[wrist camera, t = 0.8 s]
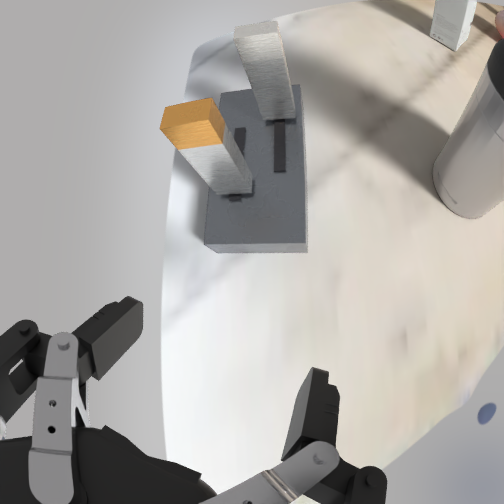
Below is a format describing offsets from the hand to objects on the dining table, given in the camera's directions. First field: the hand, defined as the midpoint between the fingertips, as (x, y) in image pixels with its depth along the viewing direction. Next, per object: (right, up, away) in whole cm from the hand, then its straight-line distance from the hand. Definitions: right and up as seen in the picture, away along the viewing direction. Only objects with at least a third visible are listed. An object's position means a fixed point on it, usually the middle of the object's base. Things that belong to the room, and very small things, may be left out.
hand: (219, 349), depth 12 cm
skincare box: (+38, +44, +20) cm, 61 cm away
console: (+3, +14, +22) cm, 26 cm away
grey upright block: (+4, +20, +18) cm, 27 cm away
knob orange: (0, +11, +17) cm, 20 cm away
